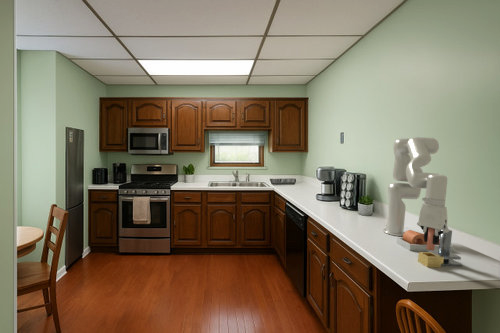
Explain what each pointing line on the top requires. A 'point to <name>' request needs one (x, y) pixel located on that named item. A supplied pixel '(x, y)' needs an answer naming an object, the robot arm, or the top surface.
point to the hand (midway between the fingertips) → (431, 242)
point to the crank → (414, 238)
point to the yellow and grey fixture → (440, 254)
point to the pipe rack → (417, 246)
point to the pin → (430, 239)
